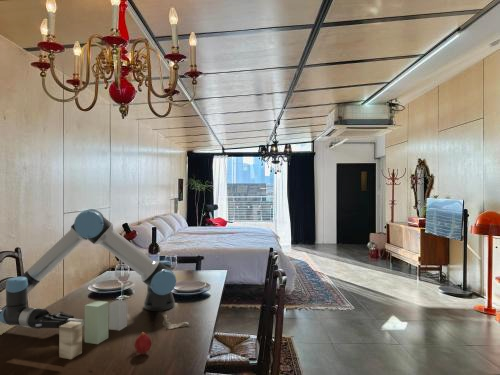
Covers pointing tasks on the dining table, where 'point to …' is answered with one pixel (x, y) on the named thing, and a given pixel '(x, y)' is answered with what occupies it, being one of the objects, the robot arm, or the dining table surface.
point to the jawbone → (172, 326)
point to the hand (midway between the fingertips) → (82, 323)
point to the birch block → (70, 340)
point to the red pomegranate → (143, 343)
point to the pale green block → (96, 322)
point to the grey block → (117, 315)
